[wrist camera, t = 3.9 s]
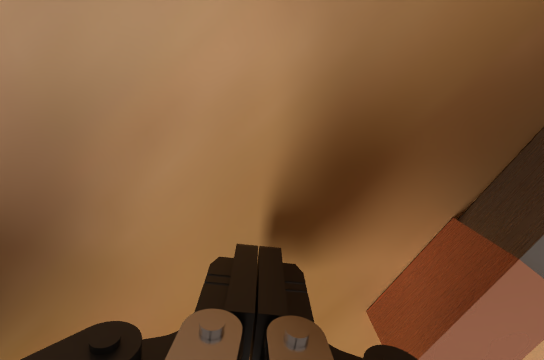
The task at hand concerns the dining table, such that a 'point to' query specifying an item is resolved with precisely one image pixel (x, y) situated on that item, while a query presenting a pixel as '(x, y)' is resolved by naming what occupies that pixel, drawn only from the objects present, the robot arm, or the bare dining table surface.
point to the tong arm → (476, 276)
